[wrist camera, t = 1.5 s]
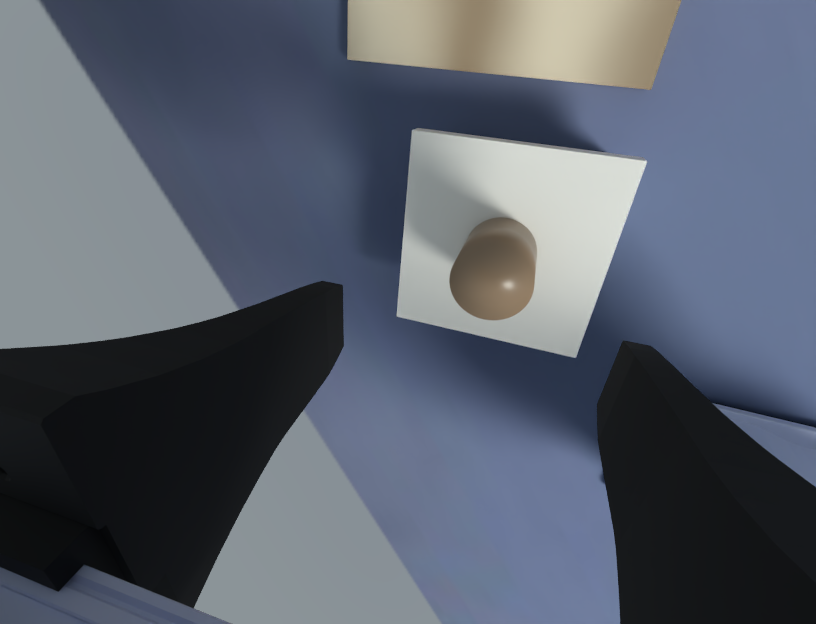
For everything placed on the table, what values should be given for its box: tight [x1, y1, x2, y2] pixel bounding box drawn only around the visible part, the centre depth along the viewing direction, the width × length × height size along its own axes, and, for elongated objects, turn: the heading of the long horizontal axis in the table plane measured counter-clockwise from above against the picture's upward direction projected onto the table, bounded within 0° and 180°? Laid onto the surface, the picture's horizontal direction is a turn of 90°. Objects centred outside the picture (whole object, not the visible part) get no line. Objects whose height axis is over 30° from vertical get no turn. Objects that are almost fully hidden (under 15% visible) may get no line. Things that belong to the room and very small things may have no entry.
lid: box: [397, 128, 647, 358], centre depth 16 cm, size 8×8×5 cm
